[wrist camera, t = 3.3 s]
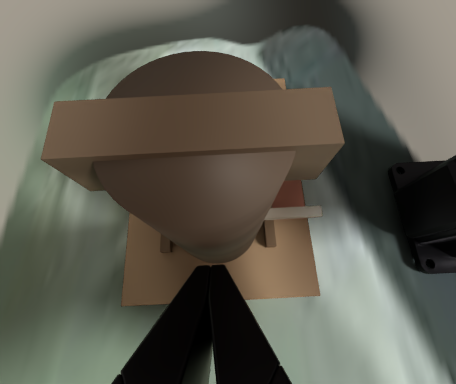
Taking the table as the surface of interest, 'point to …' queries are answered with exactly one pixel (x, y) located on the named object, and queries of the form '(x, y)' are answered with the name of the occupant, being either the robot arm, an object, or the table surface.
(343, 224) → the table surface
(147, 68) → the peg
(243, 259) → the tuner board
